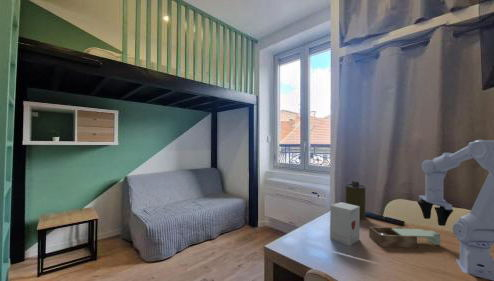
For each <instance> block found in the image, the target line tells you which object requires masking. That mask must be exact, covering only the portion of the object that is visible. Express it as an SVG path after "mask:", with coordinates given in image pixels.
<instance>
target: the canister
mask: <svg viewBox="0 0 494 281" xmlns="http://www.w3.org/2000/svg"><path fill="white" fill-rule="evenodd" d="M344 186H345V203H347V204H351V205H356V206H360V218H359V221H360V220H361V221H362V220H365V219H366V188H367V186H365V185H362V184H360V182H359V181H358V180H351V183H349V184H348V183H347V184H345V185H344Z"/></svg>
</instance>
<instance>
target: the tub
mask: <svg viewBox="0 0 494 281" xmlns="http://www.w3.org/2000/svg"><path fill="white" fill-rule="evenodd" d="M391 228H395V229H404V228H403V227H397V226H396V227H395V226H394V227H391V226H390V227H389V226H387V227H386V226H369V229H368V236H369V238H370V239H371V240H372V241H373V242H374V243H376V244H377V245H378V246H380V247H381V248H382V247H383V248H407V249H409V248H412V249H413V248H414V249H415V248H416V249H417V248H418V237H417V236H404V235H398V234H397V233H395V232H394V231H392V230H391ZM380 232H382V233H386V234H388V235H381V234H380Z"/></svg>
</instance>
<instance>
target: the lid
mask: <svg viewBox="0 0 494 281" xmlns="http://www.w3.org/2000/svg"><path fill="white" fill-rule="evenodd" d="M391 230H392V231H394V232H395V233H397V234H398V235H404V236H417V238H425V239H426V238H427V239H426V240H427V241H428V243H431V244H433V245H435V246H440V245H441V234H440V233H438V232H436V231H434V230H425V229H423V228H403V229H395V228H391Z"/></svg>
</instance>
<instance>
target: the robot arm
mask: <svg viewBox="0 0 494 281" xmlns="http://www.w3.org/2000/svg"><path fill="white" fill-rule="evenodd" d="M471 159H474V160H475V161H476V162H477V163H478V165H480V167H482V169H484V170H486V171H487V172H488V175H487V176H486V179H485V181H484V183H483V185H482V187H481V189H480V191H479V193H478V196H477V197H476V199H475V202H474V204H473V206H472V208H471V210H470V212H469V213H467V214H465V215H462V216H460V217H459V218H458V220H456V221H455V222H454V223H453V225H452V232H453V235H454V236H455V238H456V239H457V240H458V241H459V259H458V258H456V259H455V261H456V263H457V265H458V266H459V268H460V269H461V271H462V273H465V274H469V275H473V277H477V278H481V279H485V280H490V281H494V258H493V255H492V251H491V250H492V247H494V139H492V140H491V139H488V140H487V139H485V140H484V139H476V140H474V141H472V142H471V141H470V142H469V143H468V144H467V146H465V147H463V148H461V149H459V150H458V151H456V152H454V153H452V152H443V153H442V155H439V156H435V157H434V158H433V159H425V160H423V161H422V163H421V170H422V171H423V173H424V174H425V177H424V178H425V180H424V181H425V182H424V183H425V185H424V187H425V189H424V190H425V192H424V193H425V194H424V195H422V194H421V195H420V194H419V195H418V201H417V204H418V206H419V208H420V210H421V213H422V217H423V219H427V220H430V219H431V216H432V208H433V206H434V205H435V207H434V210H435V213H436V217H437V224H438V226H442V227H445V226H446V224H447V221H448V218H449V216H451V214H452V213H453V212H454V209H453V204H451V203H449V202H447V201H446V199H444V179H445V178H446V174H447V173H448V171H449V170H452V169H454V168H457V167H459V166H460V165H461V163H462V162H464V161H468V160H471Z"/></svg>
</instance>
